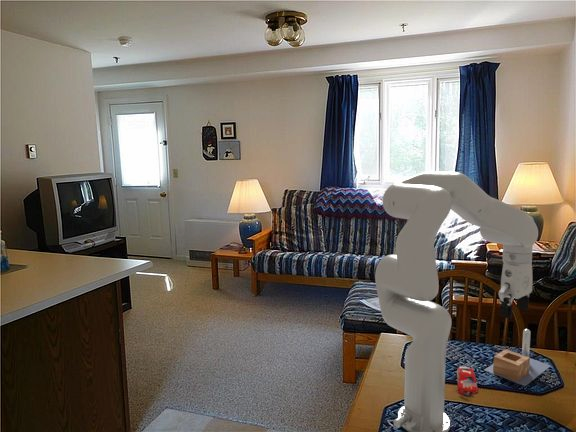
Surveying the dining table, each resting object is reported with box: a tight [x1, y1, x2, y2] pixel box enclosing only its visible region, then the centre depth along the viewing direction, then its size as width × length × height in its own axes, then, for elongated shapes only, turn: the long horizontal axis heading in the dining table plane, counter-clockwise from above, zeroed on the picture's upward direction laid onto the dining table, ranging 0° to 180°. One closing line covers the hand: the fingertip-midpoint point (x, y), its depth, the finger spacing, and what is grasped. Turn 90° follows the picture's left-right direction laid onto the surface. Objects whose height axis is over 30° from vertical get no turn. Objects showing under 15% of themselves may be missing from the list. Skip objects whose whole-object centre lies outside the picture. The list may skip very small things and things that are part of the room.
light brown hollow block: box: [492, 348, 530, 381], centre depth 128 cm, size 7×7×5 cm
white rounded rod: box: [521, 328, 532, 357], centre depth 134 cm, size 2×2×11 cm
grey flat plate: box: [484, 358, 552, 387], centre depth 132 cm, size 18×12×1 cm, turn 128°
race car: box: [456, 365, 479, 398], centre depth 124 cm, size 13×5×4 cm, turn 160°
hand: (514, 313), depth 127 cm, fingers open, 9 cm apart
